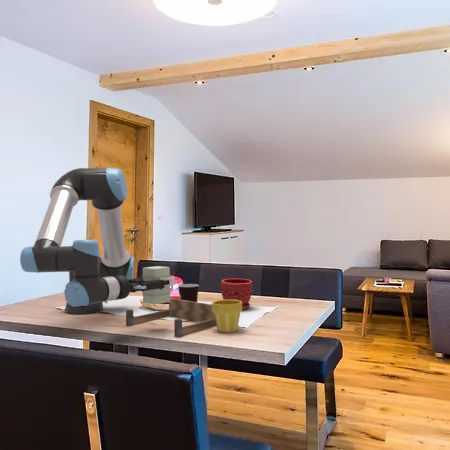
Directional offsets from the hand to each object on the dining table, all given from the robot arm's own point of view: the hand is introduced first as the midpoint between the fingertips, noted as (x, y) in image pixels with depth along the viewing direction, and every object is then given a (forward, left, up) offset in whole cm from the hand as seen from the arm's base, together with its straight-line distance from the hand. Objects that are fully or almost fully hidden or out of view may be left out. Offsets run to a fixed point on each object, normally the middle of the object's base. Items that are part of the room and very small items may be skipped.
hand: (167, 280), depth 162 cm
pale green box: (0, -5, -7) cm, 9 cm away
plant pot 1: (0, +40, -17) cm, 43 cm away
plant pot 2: (+20, +9, -17) cm, 28 cm away
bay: (0, +3, -17) cm, 17 cm away
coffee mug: (-16, +28, -17) cm, 36 cm away
